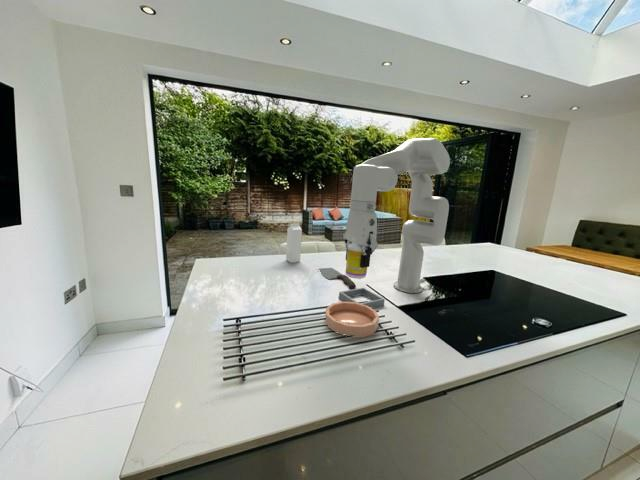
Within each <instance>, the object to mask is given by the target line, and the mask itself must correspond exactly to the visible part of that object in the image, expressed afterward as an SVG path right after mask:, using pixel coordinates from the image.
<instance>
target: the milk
mask: <svg viewBox="0 0 640 480" xmlns="http://www.w3.org/2000/svg"><path fill="white" fill-rule="evenodd" d="M286 231H287V232H286V248H285V249H286V252H285V261H287V262H289V263H291V264H293V263H299V261H300V262H301V254H302V253H301V252H302V237H303V236H302V235H303V234H302V233H303V229H302V228H301V226H300V223H299V222H294V223H293V222H292V223H290V225H289V226H288V227H287V230H286Z"/></svg>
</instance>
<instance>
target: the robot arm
mask: <svg viewBox="0 0 640 480" xmlns="http://www.w3.org/2000/svg"><path fill="white" fill-rule="evenodd" d="M450 163H451V159H450V154H449V152H448V151H447V149H446V148H445V146H444V144H443V143H442V142H441V141H440V140H439V139H437V138H435V137H427V138H426V137H423V138H411V139H407V140H405V141H404V142H403V143H401V144H400V145H398V146H397V147H396V148H395V149H394V150H392V151H390V152H386V153H383V154H380V155H377V156H375V157H372V158H370V159H367V160H365V161H364V162H362V163H361V164H357V165H355V166H354V167H353V174H352V181H351V182H352V185H351V195H350V206H349V212H348V215H347V220H346V226H345V231H344V233H343V234H342V237H343V239H344V243H345V249H346V251H345V261H346V262H347V252H348V245H349V244H350V243H352V242H353V241H352V238H353V237H355V239H356V242H355V243H356V244H358V245H361V247H362V252H363V255H361V261H360V267H361V268H364V267H367V268H369V267H370V264H371V262H370V261H371V256H372V255H373V253H374V252H375V250H377V248H378V247H379V244H378V242H377V239H378V238H377V235H378V218H377V212H376V208H377V206H376V203H377V195H378V192H389V191H392V190H393V189H395V187H396V186H397V184H398V179H399V176H398V175H401V174H405V173H406V172H407V173H408V175H409V177H410V180H411V191H410V198H409V204H408V212H409V215H411V216H412V217H416V218H422V219H428V220H432V221H433V222H432V221H426V220H420V219H418V220H417V219H408V220H406V221H405V222H404V223H403V225H402V229H401V236H402V237H401V238H402V243H401V244H402V245H401V254H400V259H399V266H398V274H397V275H398V276H397V280H396V281H395V282H394V283H393V287H394V288H395V289H396V290H397V291H400V292H404V293H408V294H409V293H410V294H419V293H421V292H422V291H423V287H422V286H421V284H425V283H426V279H425V278H421V275H422V269H423V268H422V267H423V261H424V255H425V253H424V249H423V246H422V244H425V245H430V246H440V245H442V243H443V242H444V239H445V236H446V235H445V234H446V230H447V225H448V224H447V222H448V217H449V210H450V204H449V200H448V199H447V198H446V197H443V196H436V195H435V196H433V187H434V182H433V180H432V178H431V176H430V175H442V174H443V175H444V173H446V172H447V171H448V170H449V168H450ZM366 247H367V248H368V249H367V250H366Z"/></svg>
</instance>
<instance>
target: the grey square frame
mask: <svg viewBox="0 0 640 480" xmlns="http://www.w3.org/2000/svg"><path fill="white" fill-rule="evenodd" d="M360 295H364V296H365V297H367V298H369V299H370V300H369V301H364V302H358V301H356V300H355V299H353V298H352V297H355V296H360ZM338 299H340V300H342V302H356V303H359V304H363V305H366V306H369V307H374V308H378V307H381V306H385V298H383V297H381V296H379V294H378V295H377V294H376V293H374V292H373V291H371V290H369V289H367V288H365V287H360V288H354V289H348V290H347V289H346V290H343V291H342V290H341V291H339V293H338Z"/></svg>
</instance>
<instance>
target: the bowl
mask: <svg viewBox="0 0 640 480" xmlns="http://www.w3.org/2000/svg"><path fill="white" fill-rule="evenodd" d="M356 302H357V301H356ZM356 302H344V301H338V302H335V303H330V305H329V306H328V307H326V308H325V317H324V319H325V318H326V321H325V325H326V324H327V325H328V326H329V327H330V328H331V329H332V330H333V331H335V332H338V333H341V334H346V335H355V337H354V338H365V337H369V336H372V335H374V334H375V333H376V331H377V330H378V328H379V322H380V317H379V315H378V312H377V311H376V310H375V309H374V308H370V307H369V306H366V305H363V304H359V303H360V302H358V303H356ZM327 325H326V326H327ZM328 326H327V327H328ZM329 327H328V328H329ZM330 328H329V329H330ZM331 329H330V330H331ZM332 330H331V331H332ZM333 331H332V332H333ZM335 332H334V333H335ZM374 332H375V333H374ZM338 333H337V334H338ZM341 334H340V335H341Z"/></svg>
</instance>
